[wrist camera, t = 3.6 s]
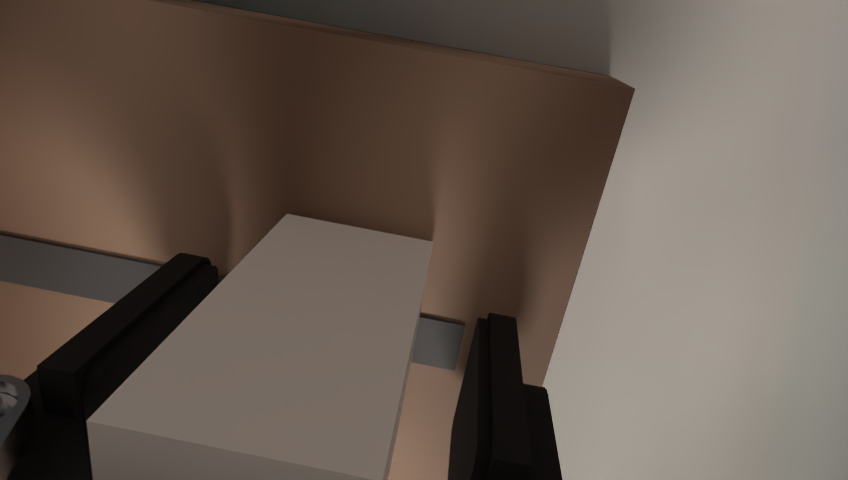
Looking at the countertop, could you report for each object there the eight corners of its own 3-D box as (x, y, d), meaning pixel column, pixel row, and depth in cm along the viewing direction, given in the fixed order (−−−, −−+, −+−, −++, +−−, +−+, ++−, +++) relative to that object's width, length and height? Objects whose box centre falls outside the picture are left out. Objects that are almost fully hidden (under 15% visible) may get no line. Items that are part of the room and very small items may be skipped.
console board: (610, 76, 11) (637, 89, 9) (490, 486, 16) (491, 552, 14) (-499, -126, 12) (-689, -152, 10) (-299, 325, 17) (-403, 367, 15)
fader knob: (436, 242, 11) (385, 490, 5) (399, 433, 13) (335, 760, 7) (284, 213, 11) (75, 426, 5) (272, 407, 13) (109, 711, 7)
